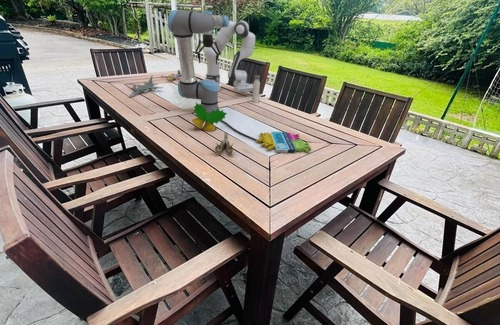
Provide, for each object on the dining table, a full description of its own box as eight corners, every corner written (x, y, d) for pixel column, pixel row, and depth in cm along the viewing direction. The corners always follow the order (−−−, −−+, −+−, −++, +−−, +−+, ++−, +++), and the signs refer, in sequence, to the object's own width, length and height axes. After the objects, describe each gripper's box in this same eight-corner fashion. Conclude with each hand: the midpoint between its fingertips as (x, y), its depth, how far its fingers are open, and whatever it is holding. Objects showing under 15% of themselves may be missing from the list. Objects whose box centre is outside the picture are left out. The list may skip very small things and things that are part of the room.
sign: (313, 150, 142) (258, 149, 139) (312, 153, 143) (258, 152, 140) (301, 132, 164) (254, 130, 161) (301, 134, 165) (254, 133, 162)
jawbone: (234, 135, 144) (233, 125, 135) (233, 160, 138) (232, 151, 129) (217, 135, 144) (216, 125, 135) (216, 160, 138) (214, 150, 129)
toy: (193, 71, 287) (180, 75, 262) (193, 77, 291) (181, 82, 265) (170, 68, 292) (155, 72, 266) (170, 75, 296) (156, 79, 270)
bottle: (254, 100, 227) (256, 75, 217) (259, 101, 224) (261, 76, 214) (250, 101, 223) (252, 76, 213) (255, 102, 220) (257, 77, 210)
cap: (256, 78, 217) (256, 75, 216) (260, 79, 215) (261, 76, 214) (253, 78, 214) (253, 75, 213) (257, 79, 212) (257, 76, 210)
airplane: (123, 87, 237) (120, 75, 231) (158, 84, 250) (157, 74, 245) (127, 99, 208) (125, 87, 203) (167, 96, 221) (166, 84, 216)
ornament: (218, 133, 171) (224, 110, 169) (221, 134, 163) (227, 111, 161) (186, 125, 162) (192, 101, 160) (189, 126, 155) (195, 101, 153)
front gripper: (224, 35, 204) (223, 63, 214) (192, 32, 203) (193, 61, 213) (223, 35, 198) (223, 65, 208) (190, 33, 197) (191, 63, 207)
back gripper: (233, 84, 233) (240, 88, 222) (253, 83, 241) (260, 87, 231) (233, 91, 236) (239, 95, 225) (253, 90, 245) (260, 94, 234)
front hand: (208, 63), depth 211 cm, fingers open, 13 cm apart
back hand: (250, 91), depth 228 cm, fingers open, 8 cm apart
